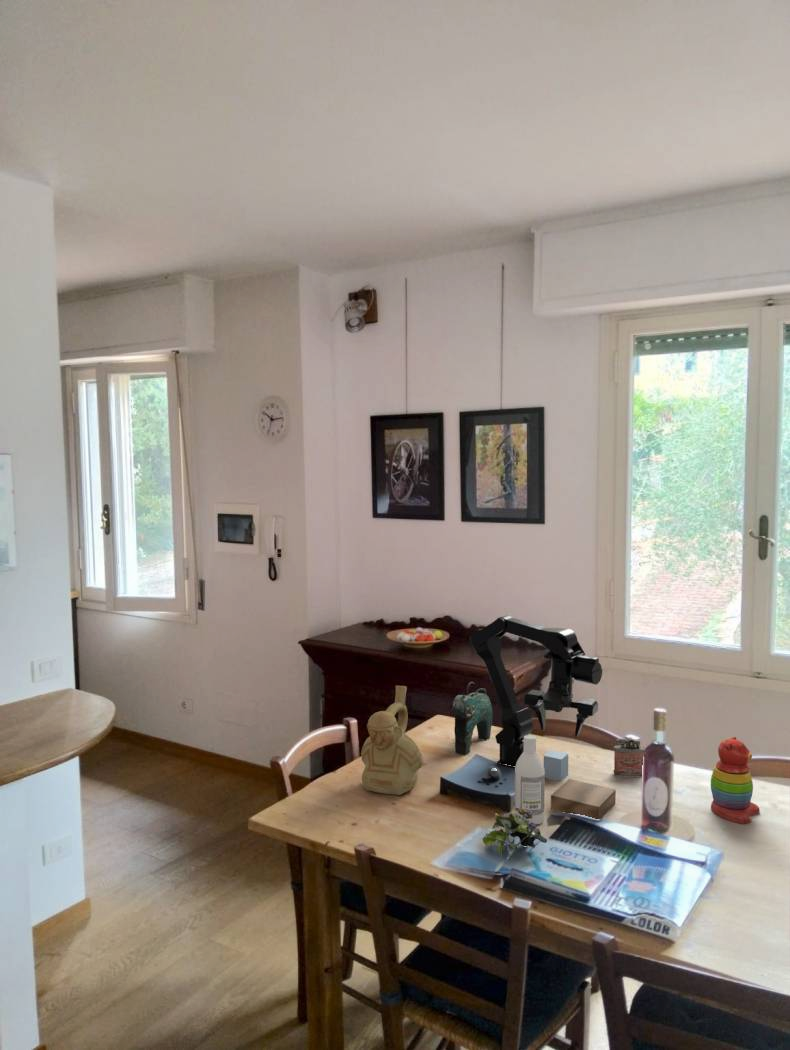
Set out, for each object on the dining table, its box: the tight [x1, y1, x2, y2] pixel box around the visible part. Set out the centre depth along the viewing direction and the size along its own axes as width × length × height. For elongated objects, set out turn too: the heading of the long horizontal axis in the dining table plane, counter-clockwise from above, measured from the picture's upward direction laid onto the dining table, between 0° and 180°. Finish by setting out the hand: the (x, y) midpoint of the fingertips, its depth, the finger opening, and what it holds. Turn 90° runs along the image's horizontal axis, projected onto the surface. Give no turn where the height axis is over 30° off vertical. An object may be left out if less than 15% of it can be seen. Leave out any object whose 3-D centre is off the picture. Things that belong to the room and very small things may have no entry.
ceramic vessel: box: [360, 685, 424, 796], centre depth 202 cm, size 17×20×25 cm
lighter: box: [613, 737, 646, 778], centre depth 210 cm, size 8×3×10 cm, turn 84°
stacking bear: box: [710, 736, 761, 825], centre depth 186 cm, size 11×10×18 cm
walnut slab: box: [550, 778, 617, 820], centre depth 190 cm, size 12×12×4 cm
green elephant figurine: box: [451, 681, 493, 756], centre depth 232 cm, size 20×6×20 cm, turn 147°
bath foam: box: [514, 734, 546, 826], centre depth 183 cm, size 7×7×20 cm
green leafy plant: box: [481, 808, 548, 858], centre depth 167 cm, size 11×11×12 cm
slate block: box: [543, 749, 569, 782], centre depth 209 cm, size 5×5×6 cm
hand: (559, 733), depth 208 cm, fingers open, 9 cm apart
